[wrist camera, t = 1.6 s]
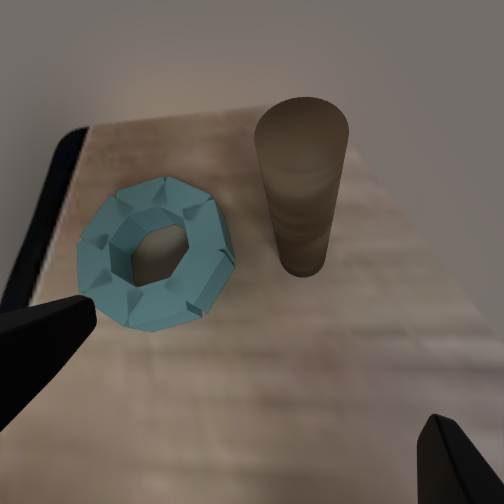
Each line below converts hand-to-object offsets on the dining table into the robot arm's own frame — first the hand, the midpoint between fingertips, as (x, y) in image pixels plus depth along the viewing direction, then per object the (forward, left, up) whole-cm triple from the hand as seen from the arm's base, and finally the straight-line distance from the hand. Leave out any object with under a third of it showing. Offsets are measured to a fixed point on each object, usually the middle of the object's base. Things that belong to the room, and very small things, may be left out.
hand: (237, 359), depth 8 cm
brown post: (+4, +7, -13) cm, 15 cm away
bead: (-6, +10, -13) cm, 17 cm away
